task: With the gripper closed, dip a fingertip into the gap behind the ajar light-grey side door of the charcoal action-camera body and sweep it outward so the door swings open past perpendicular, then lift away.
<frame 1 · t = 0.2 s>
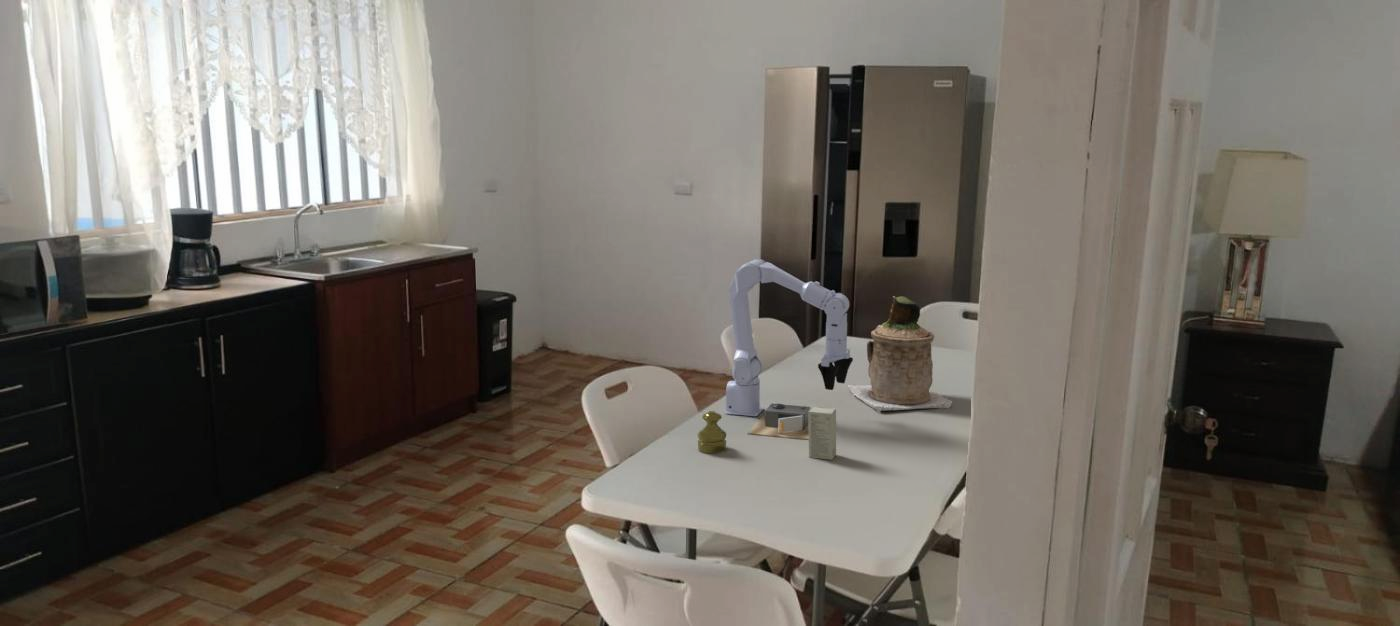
hand: (835, 386, 269), 10 cm above the table, tool pointing down, fingers open, 7 cm apart
cookie jar: (898, 400, 291), on the table
side door: (792, 424, 260), point 3 cm above the table, hinge at 40.0°
skincare box: (822, 456, 243), on the table
wooden board: (787, 428, 265), on the table
camera body: (787, 425, 268), resting on wooden board
salt shaker: (712, 449, 249), on the table
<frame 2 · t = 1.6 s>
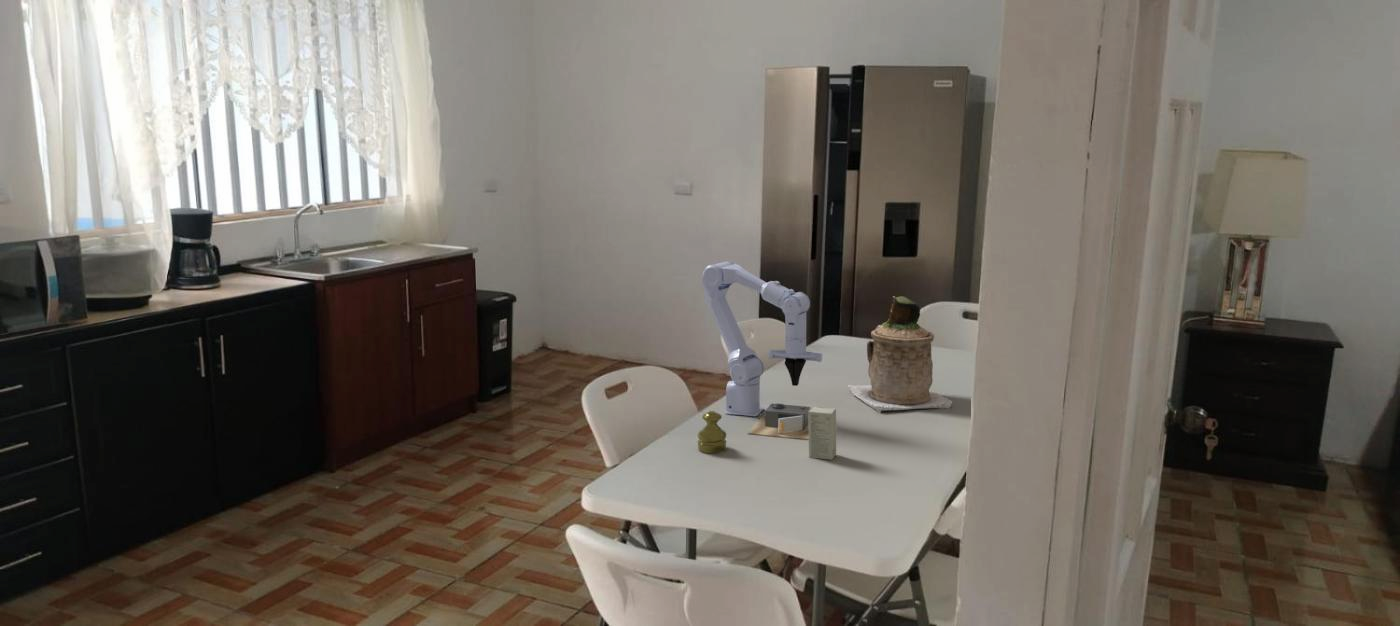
hand: (795, 384, 269), 10 cm above the table, tool pointing down, fingers closed
nothing on the table moved.
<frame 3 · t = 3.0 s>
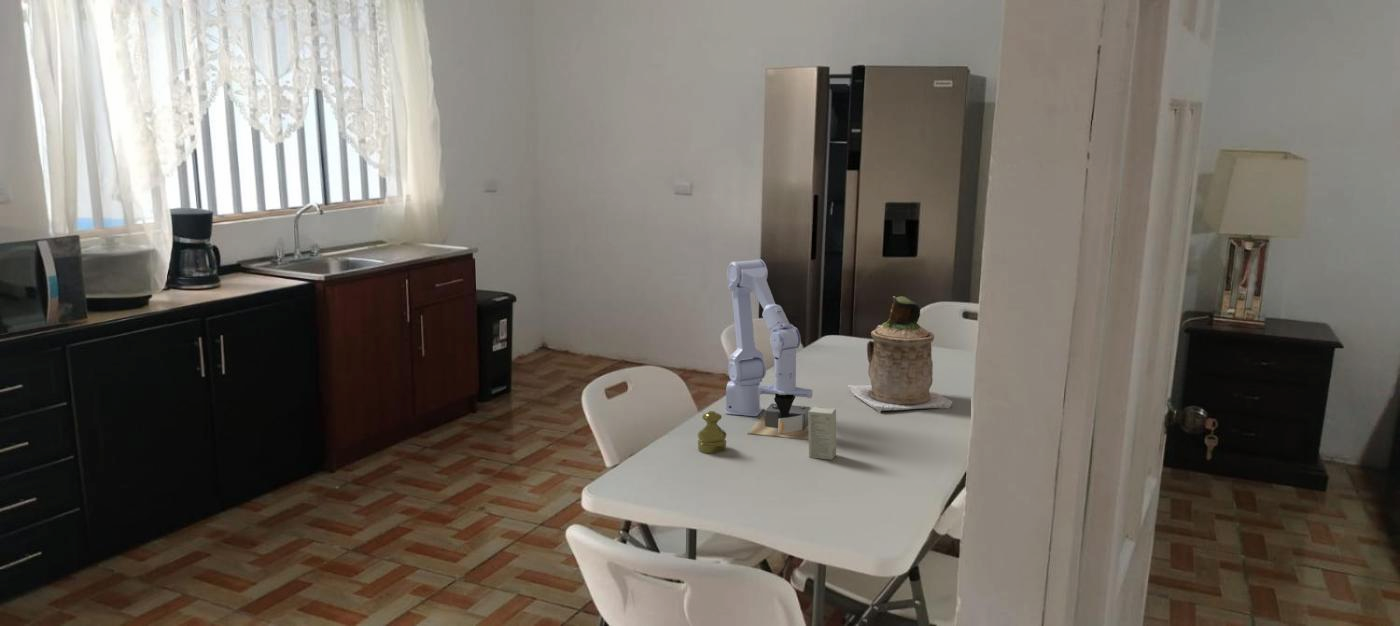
hand: (785, 421, 262), 3 cm above the table, tool pointing down, fingers closed
side door: (792, 424, 260), point 3 cm above the table, hinge at 40.2°, touching gripper
everything else where it was.
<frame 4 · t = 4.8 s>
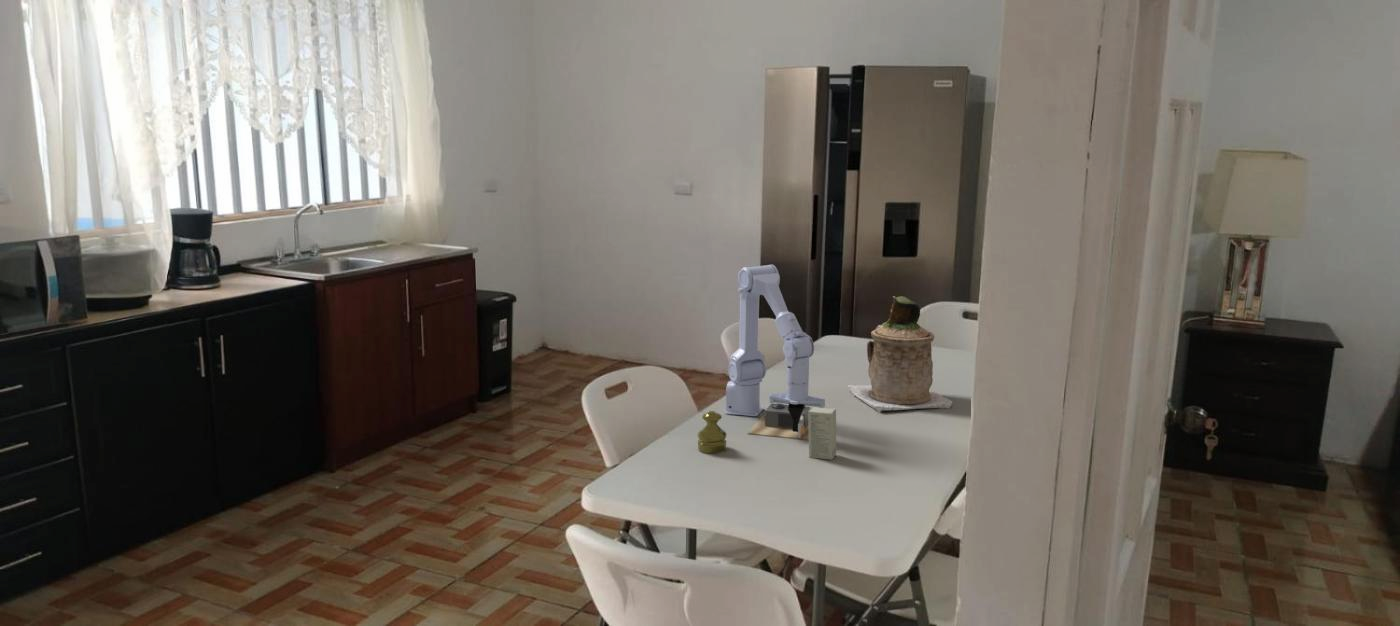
hand: (796, 430, 258), 2 cm above the table, tool pointing down, fingers closed, pressing on side door
side door: (802, 426, 259), point 3 cm above the table, hinge at 96.5°, touching gripper
everything else where it was.
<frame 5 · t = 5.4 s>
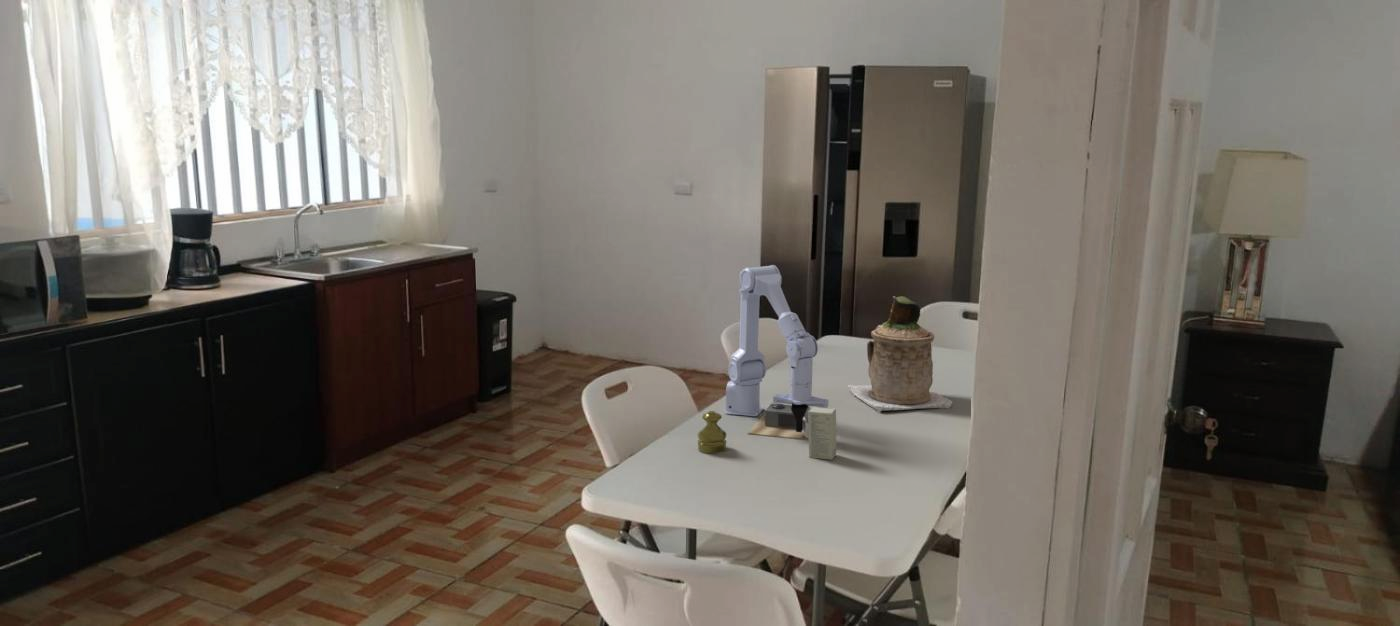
hand: (799, 430, 258), 2 cm above the table, tool pointing down, fingers closed, pressing on side door
side door: (805, 426, 259), point 3 cm above the table, hinge at 112.7°, touching gripper
everything else where it was.
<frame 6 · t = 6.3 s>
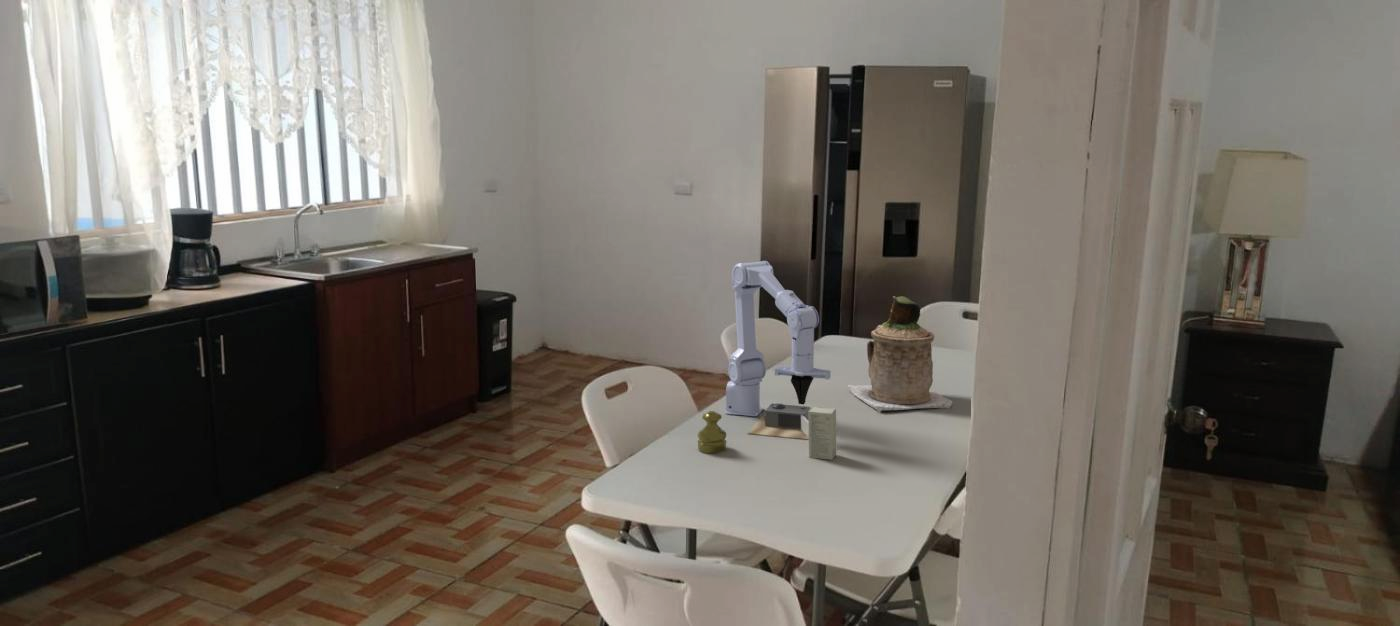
hand: (802, 403, 256), 9 cm above the table, tool pointing down, fingers closed
side door: (807, 425, 259), point 3 cm above the table, hinge at 119.0°
everything else where it was.
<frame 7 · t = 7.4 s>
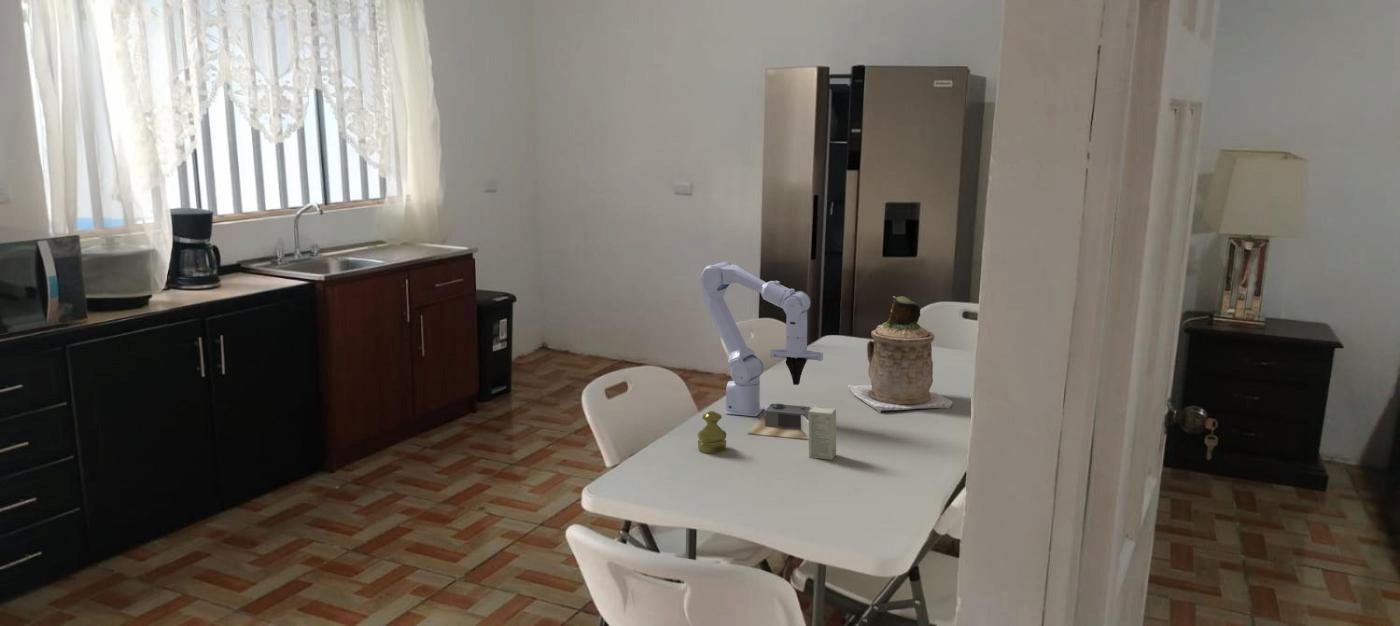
hand: (796, 383, 270), 10 cm above the table, tool pointing down, fingers closed
side door: (807, 425, 259), point 3 cm above the table, hinge at 119.6°
everything else where it was.
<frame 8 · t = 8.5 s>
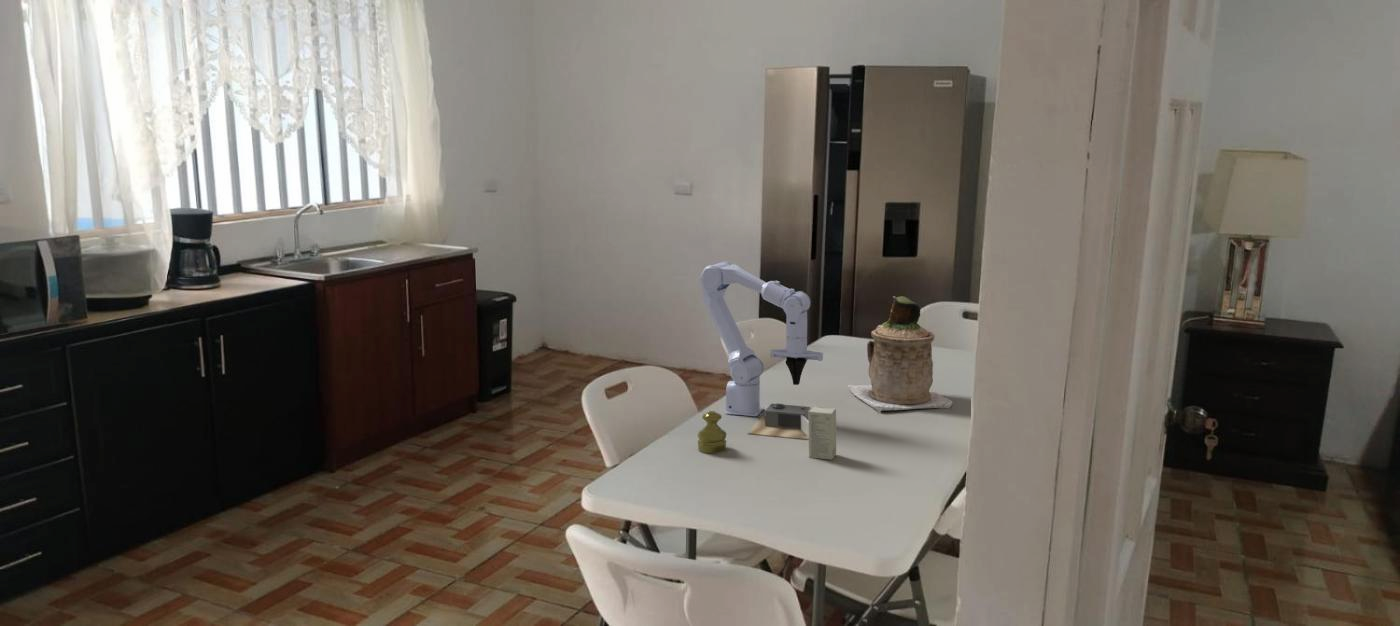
hand: (796, 383, 270), 10 cm above the table, tool pointing down, fingers closed
nothing on the table moved.
at the end: side door at +120° (first picture: +40°) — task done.
